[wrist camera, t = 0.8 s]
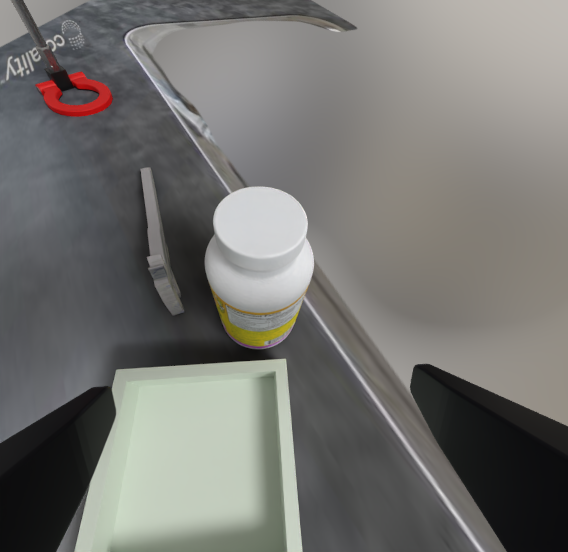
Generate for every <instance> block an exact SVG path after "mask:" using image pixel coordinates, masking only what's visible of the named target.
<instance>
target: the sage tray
mask: <svg viewBox="0 0 568 552" xmlns="http://www.w3.org/2000/svg"><path fill="white" fill-rule="evenodd" d="M112 392H113V397H114V402H115V407H116V418H115V421H114V423H113V426H112V429H111V431H110V434H109V436H108V439H107V441H106V444H105V447H104V449H103V452H102V454H101V457H100V459H99V462H98V465H97V467H96V470H95V472H94V475H93V477H92V479H91V482H90V486H89V491H88V495H87V499H86V504H85V508H84V512H83V517H82V521H81V525H80V530H79V534H78V538H77V543H76V547H75V551H74V552H302V543H301V531H300V519H299V508H298V496H297V484H296V472H295V460H294V448H293V437H292V425H291V413H290V401H289V389H288V378H287V366H286V359H276V360H260V361H244V362H228V363H212V364H197V365H181V366H165V367H149V368H133V369H117V370H116V373H115V378H114V382H113V386H112Z"/></svg>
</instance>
